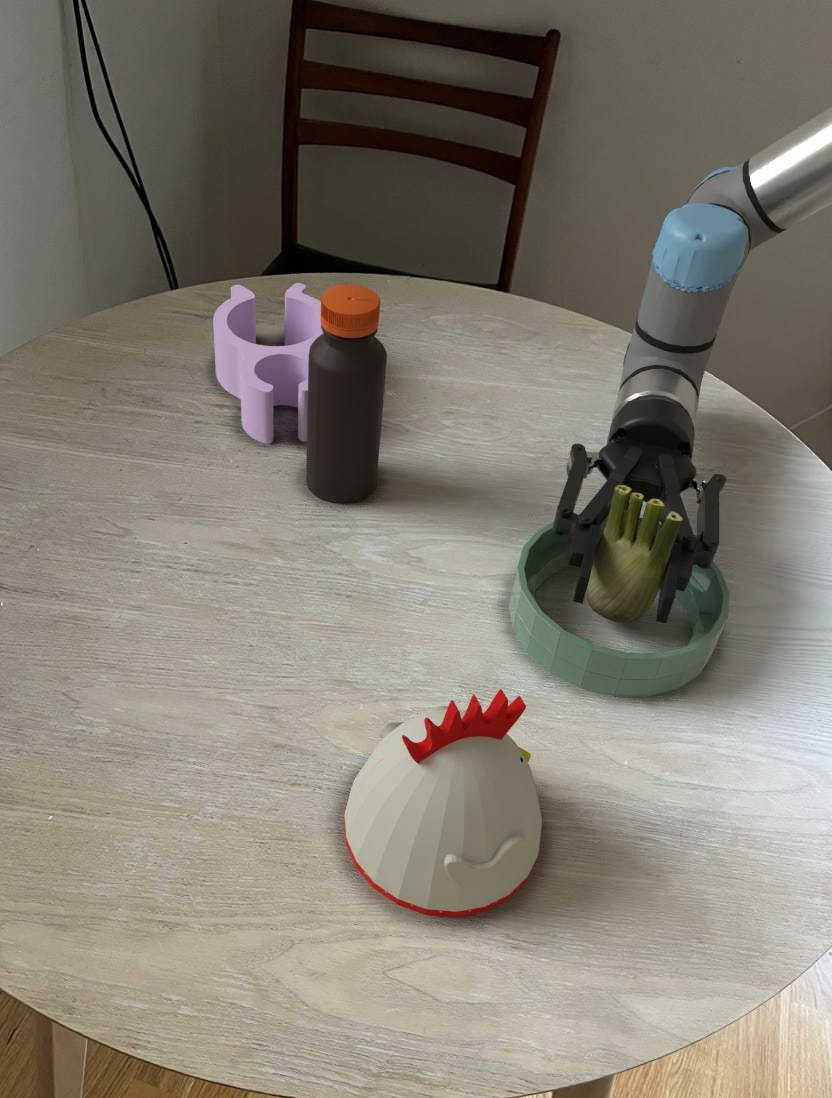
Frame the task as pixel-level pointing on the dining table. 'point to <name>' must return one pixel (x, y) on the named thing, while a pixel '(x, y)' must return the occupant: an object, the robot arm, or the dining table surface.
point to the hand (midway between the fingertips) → (623, 599)
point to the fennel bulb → (631, 557)
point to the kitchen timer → (446, 810)
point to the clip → (266, 359)
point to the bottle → (345, 397)
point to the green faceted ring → (602, 664)
